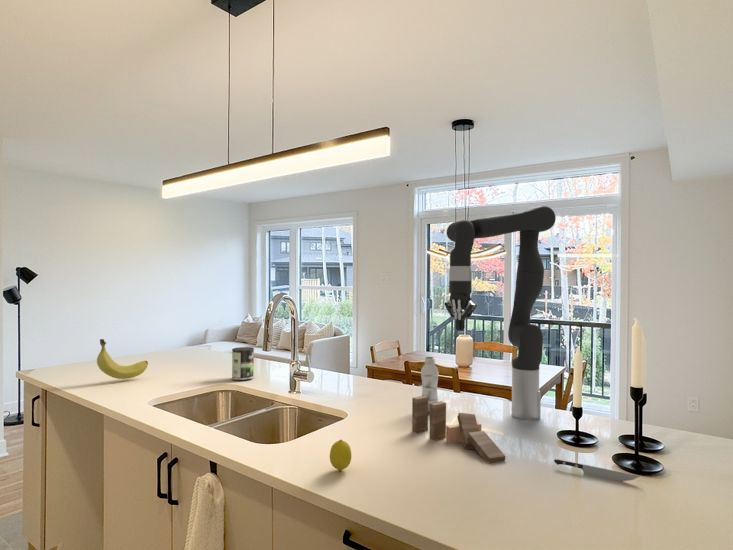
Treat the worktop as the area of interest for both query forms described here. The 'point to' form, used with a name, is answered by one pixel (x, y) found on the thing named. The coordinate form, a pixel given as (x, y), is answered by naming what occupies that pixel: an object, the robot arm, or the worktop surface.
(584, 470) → the chef's knife
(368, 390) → the worktop surface
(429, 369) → the plastic bottle
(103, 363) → the banana
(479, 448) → the domino
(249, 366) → the coffee can
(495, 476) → the worktop surface
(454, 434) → the domino
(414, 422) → the domino
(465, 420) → the domino
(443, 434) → the domino
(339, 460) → the lemon
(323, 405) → the worktop surface
